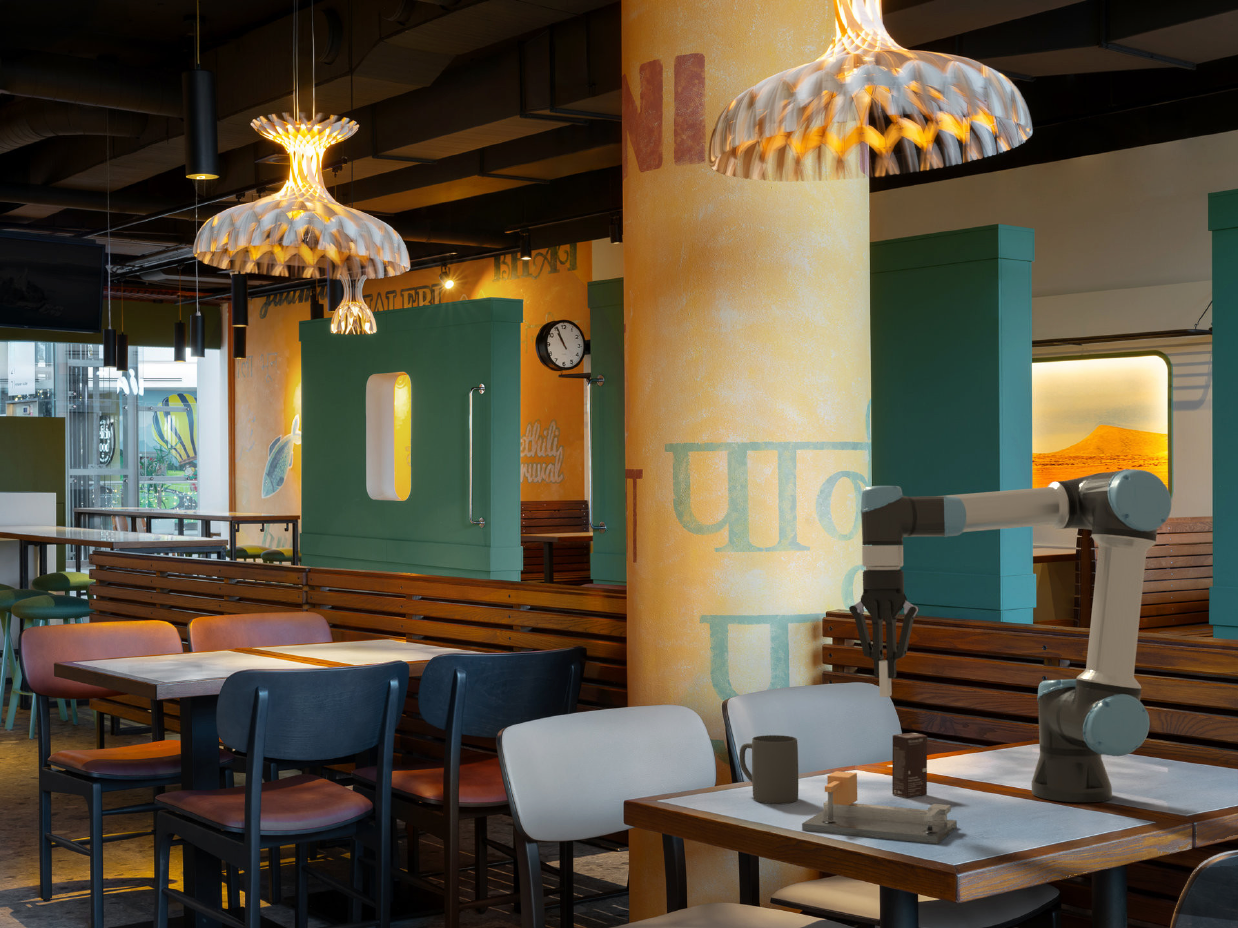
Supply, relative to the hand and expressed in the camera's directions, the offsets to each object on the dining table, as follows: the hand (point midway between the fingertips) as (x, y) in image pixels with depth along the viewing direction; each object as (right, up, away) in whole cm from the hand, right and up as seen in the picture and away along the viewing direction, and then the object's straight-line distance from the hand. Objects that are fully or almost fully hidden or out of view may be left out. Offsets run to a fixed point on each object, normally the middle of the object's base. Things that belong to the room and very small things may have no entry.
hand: (885, 695), depth 236 cm
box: (+9, -24, +20) cm, 32 cm away
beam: (-3, -21, -10) cm, 23 cm away
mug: (-20, -24, +18) cm, 36 cm away
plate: (-3, -22, -10) cm, 24 cm away
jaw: (-10, -20, -6) cm, 23 cm away
